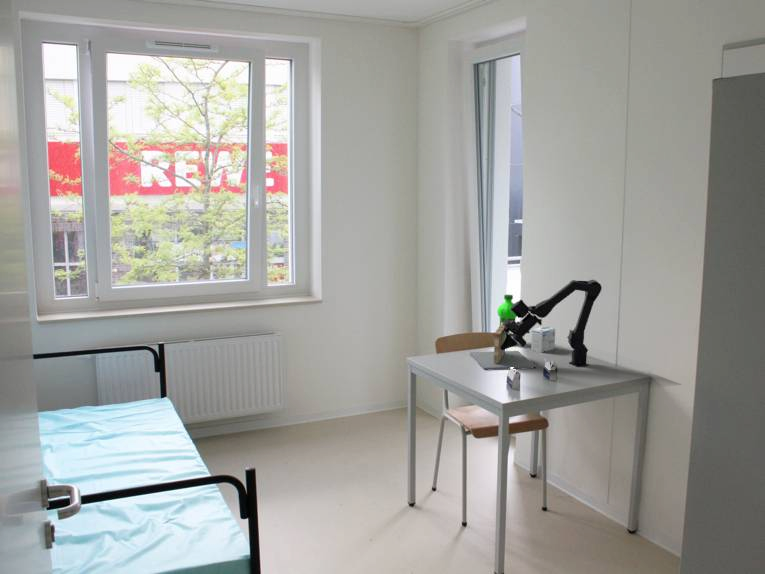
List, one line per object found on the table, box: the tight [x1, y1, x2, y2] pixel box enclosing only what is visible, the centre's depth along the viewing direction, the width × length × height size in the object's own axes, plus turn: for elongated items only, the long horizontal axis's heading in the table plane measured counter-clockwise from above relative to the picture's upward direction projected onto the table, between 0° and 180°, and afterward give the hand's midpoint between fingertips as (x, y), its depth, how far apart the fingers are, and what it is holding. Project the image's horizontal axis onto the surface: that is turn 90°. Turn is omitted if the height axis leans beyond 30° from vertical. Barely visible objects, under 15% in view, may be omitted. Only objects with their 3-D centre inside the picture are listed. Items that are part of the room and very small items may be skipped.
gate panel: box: [493, 325, 505, 363], centre depth 315 cm, size 17×3×13 cm, turn 161°
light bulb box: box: [530, 325, 556, 353], centre depth 336 cm, size 11×7×11 cm, turn 130°
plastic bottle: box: [497, 294, 518, 339], centre depth 346 cm, size 10×10×25 cm
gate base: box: [469, 322, 537, 370], centre depth 315 cm, size 24×26×16 cm
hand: (501, 349), depth 311 cm, fingers closed
